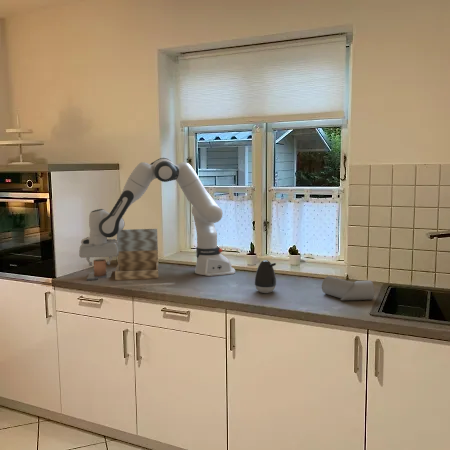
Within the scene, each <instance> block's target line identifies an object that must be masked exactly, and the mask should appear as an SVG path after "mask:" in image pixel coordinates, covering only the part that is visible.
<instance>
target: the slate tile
mask: <svg viewBox="0 0 450 450" xmlns="http://www.w3.org/2000/svg"><path fill="white" fill-rule="evenodd" d="M112 274H113V271H111V270H110V271H106V275H105V276H94V271H91V272H89V274H88V275H87V277H86V281H98V280H99V279H110V278H111V277H112Z"/></svg>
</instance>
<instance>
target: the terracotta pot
mask: <svg viewBox="0 0 450 450" xmlns="http://www.w3.org/2000/svg"><path fill="white" fill-rule="evenodd" d="M92 263H93V272H94V276H105V275H106V272H107V259H104V258H97V259H94V260H93V261H92Z"/></svg>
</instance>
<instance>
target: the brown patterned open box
mask: <svg viewBox="0 0 450 450" xmlns="http://www.w3.org/2000/svg"><path fill="white" fill-rule="evenodd" d="M116 240H117V241H118V242H119V246H118V252H119V254H118V256H117V265H116V269H115V271H114V277H115V278H114V279H115V281H121V280H139V279H140V280H141V279H142V280H143V279H146V280H147V279H159V251H158V249H159V248H158V244H159V243H158V228H136V229H135V228H134V229H122V230H121V231H120V232H119V233H117V234H116Z"/></svg>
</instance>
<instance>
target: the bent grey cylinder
mask: <svg viewBox="0 0 450 450" xmlns="http://www.w3.org/2000/svg"><path fill="white" fill-rule="evenodd" d="M321 290H322V292H323V293H324V294H325V295H327V296H332V297H335V298H338V299H340V300H339V301H341V302H342V301H362V300H363V301H370V300H373V299H374V297H375V294H376V293H375V286H374V282H373V281H372V280H356V281H354V282H353V281H349V280H345V279H343V278H338V277H334V276H331V275H329V276H325V277H324V279H323V280H322V283H321Z"/></svg>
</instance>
